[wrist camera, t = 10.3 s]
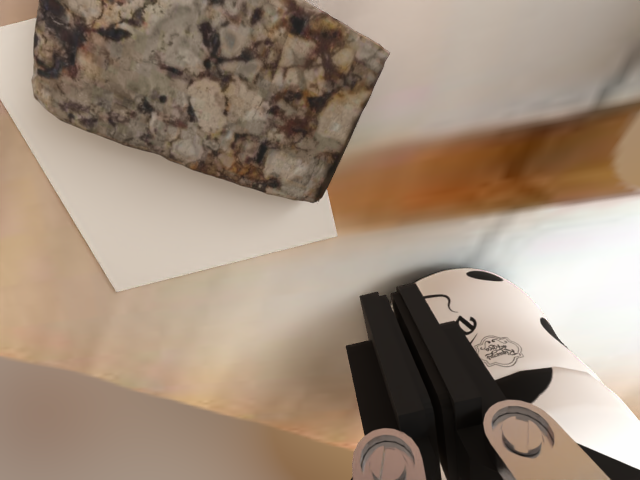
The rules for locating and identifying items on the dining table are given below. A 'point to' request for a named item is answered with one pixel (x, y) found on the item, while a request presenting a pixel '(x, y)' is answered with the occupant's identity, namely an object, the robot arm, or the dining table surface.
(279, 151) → the stone block
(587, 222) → the dining table surface
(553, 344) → the milk container
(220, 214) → the mat
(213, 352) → the dining table surface
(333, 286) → the dining table surface
